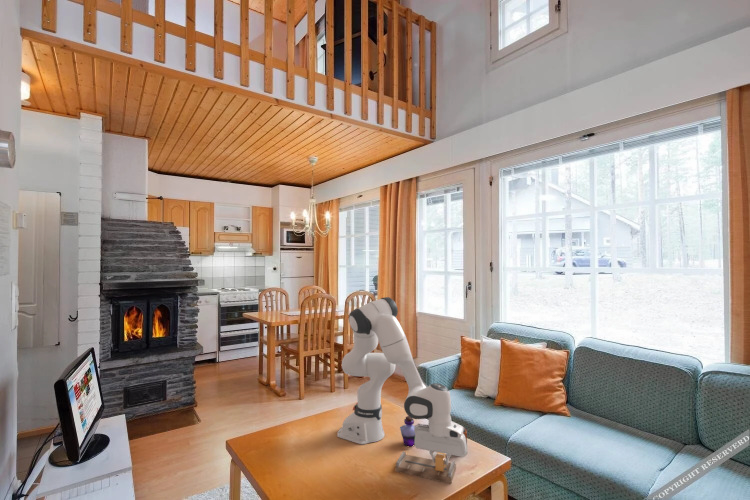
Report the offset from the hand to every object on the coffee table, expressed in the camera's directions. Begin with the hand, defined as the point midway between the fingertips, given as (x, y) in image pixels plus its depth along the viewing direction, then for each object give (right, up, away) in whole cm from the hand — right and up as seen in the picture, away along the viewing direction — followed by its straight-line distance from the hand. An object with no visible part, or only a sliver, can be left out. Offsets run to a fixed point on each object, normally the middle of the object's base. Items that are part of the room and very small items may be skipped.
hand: (440, 462), depth 144 cm
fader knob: (0, -2, 0) cm, 2 cm away
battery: (+11, -5, +16) cm, 20 cm away
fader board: (-5, -4, +2) cm, 7 cm away
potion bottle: (-10, -5, +23) cm, 26 cm away
